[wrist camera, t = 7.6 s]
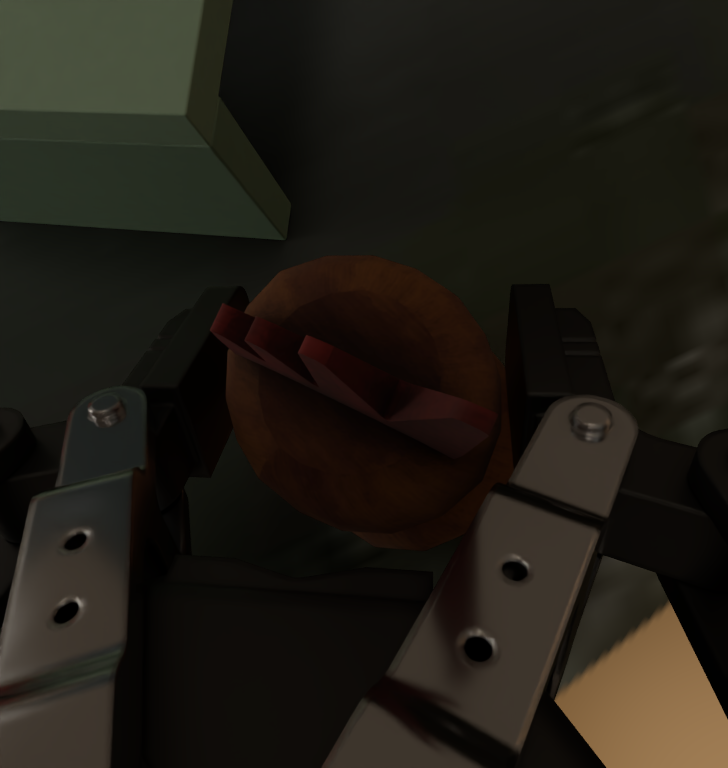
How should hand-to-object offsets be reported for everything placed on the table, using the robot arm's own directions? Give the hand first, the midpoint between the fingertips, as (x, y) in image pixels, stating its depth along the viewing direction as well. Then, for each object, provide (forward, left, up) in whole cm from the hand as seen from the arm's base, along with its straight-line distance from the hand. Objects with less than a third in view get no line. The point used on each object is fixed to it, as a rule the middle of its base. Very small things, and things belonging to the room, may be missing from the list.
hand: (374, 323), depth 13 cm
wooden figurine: (0, -2, -7) cm, 8 cm away
